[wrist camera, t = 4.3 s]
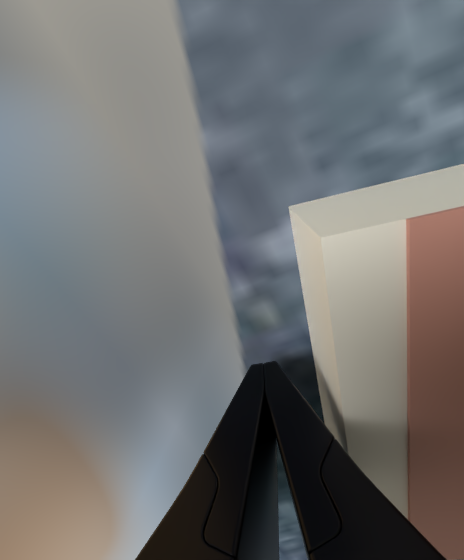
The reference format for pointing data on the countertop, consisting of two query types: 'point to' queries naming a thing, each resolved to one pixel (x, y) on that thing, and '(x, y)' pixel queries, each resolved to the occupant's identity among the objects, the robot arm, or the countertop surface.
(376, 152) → the countertop surface
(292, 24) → the countertop surface
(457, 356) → the book
